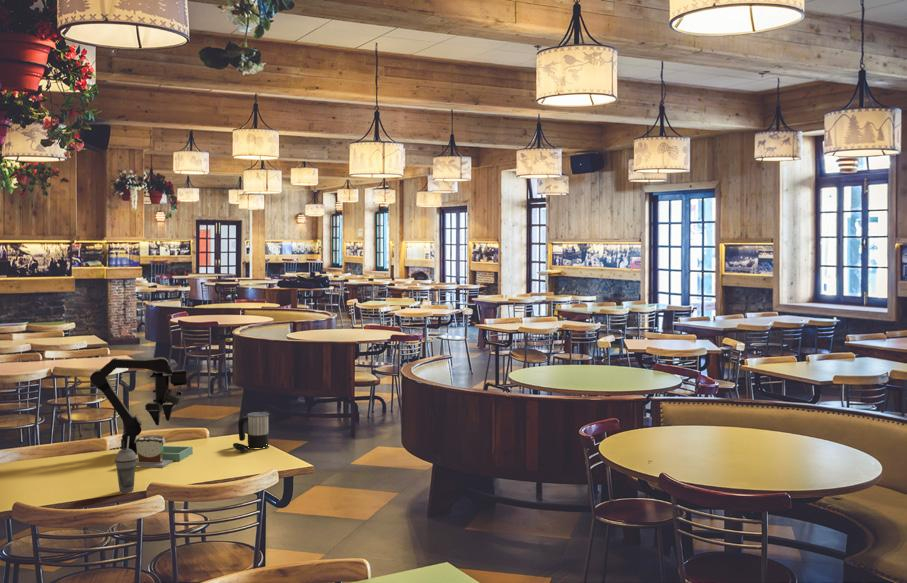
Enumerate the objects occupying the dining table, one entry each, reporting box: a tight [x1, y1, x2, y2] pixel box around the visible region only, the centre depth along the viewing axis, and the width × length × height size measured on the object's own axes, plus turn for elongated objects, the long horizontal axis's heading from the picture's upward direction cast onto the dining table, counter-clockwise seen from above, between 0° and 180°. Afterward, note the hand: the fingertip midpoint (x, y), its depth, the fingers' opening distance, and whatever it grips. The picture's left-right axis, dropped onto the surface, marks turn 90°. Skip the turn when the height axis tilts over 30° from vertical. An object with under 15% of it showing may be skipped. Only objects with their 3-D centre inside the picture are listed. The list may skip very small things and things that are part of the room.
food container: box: [134, 434, 166, 463], centre depth 328 cm, size 12×6×10 cm, turn 83°
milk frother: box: [232, 411, 270, 453], centre depth 350 cm, size 14×16×15 cm
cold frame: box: [162, 445, 194, 462], centre depth 338 cm, size 18×12×3 cm, turn 83°
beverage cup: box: [114, 436, 138, 494], centre depth 289 cm, size 7×7×20 cm
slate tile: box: [135, 459, 173, 468], centre depth 326 cm, size 14×8×1 cm, turn 83°
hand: (162, 422), depth 348 cm, fingers open, 9 cm apart
